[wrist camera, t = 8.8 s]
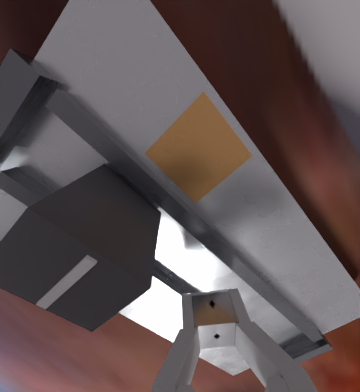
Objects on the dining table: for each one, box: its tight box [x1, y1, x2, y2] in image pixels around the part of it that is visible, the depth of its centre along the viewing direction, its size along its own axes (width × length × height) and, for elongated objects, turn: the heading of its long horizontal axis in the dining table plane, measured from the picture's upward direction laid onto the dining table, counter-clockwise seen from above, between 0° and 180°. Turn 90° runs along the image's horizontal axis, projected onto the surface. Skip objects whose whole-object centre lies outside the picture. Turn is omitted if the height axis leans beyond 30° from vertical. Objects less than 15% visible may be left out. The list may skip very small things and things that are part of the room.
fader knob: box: [0, 164, 161, 332], centre depth 6 cm, size 4×3×4 cm
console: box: [0, 0, 360, 376], centre depth 11 cm, size 26×14×3 cm, turn 43°
